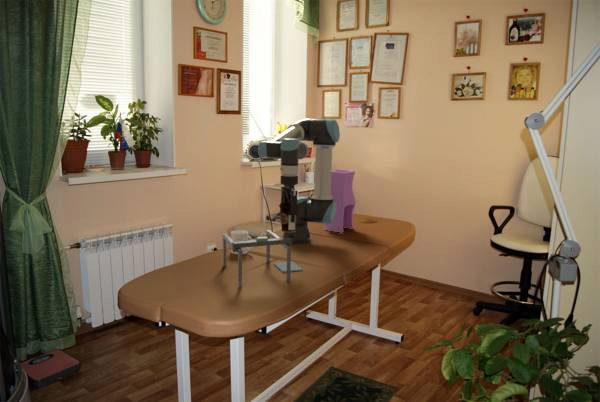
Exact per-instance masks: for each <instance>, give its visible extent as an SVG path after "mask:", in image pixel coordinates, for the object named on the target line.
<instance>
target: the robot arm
mask: <svg viewBox="0 0 600 402" xmlns="http://www.w3.org/2000/svg"><path fill="white" fill-rule="evenodd" d="M340 133H341V132H340V125H339V123H338V121H337V120H336V119H334V118H310V117H309V118H303V119H300V120H297V121H295V122H293V123H291V124H290V125H288V127H287V128H286V130H284V131H283V132H281V133H280V134H278V135H277V136H275V137H273V138H272V139H270V140H261V141H259V143H258V145H257V153H258V156H259V157H260V158H263V159H264V158H265V159H280V167H279V170H280V174H281V175H280V185H283V186H281V187H280V190H281V192H280V202H281V201H288V203H289V212H290V213H289V214H288V215H289V229H288V230H295V215H296V214H298V216H297V224H296V232H283V234H282V238H288V237H289V238H290V239H291V241H292V244H303V243H308V242H310V241H311V237H312V236H311V232H310V228H309V227H308V223H317V224H322V225H325V224H329V223H331V222H332V221H333V220H334V217H335V214H336V209H337V206H336V205H337V204H336V202H333V197H332V196H331V171H333V170H332V165H333V149H334V148H335V147H336V143H339V141H340V136H341V134H340ZM305 142H312V146H313V147H314V148H315V156H314V157H315V158H314V160H315V165H314V187H313V188H314V189H313V195H312V196H311V198H310V199H309V197H308V196H298V190H296V188H295V186H297V185H298V184H299V176H298V175H299V160H303V159H305V158H307V156H308V155H309V149H310V148H309V146H308V145H307V143H305ZM297 202H298V205H299V209H298V210H297Z"/></svg>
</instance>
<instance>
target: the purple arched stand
mask: <svg viewBox="0 0 600 402" xmlns="http://www.w3.org/2000/svg"><path fill="white" fill-rule="evenodd" d="M355 173H356V171H355V170H350V169H342V168H341V169H340V168H339V169H338V168H336V169H335V171H333V170H331V196H332V197H333V202H336V204H337V205H336V206H337V209H336V214H335V217H334V220H333V221H332V222H331V223H329V224H325V223H324V226H323V227H324V228H323V230H324V229H325V230H330V231H336V232H342V233H343V232H345V231H344V228H343V227H345V228H352V229H353V228H354V229H355V227H354V226H355V225H354V220H353V217H354V216H353V215H354V211H355V207H356V204H357V203H356V198H355V195H354V191H353V183H354V182H353V181H354V177H355ZM325 230H324V231H325ZM330 231H329V232H330ZM343 234H344V233H343Z"/></svg>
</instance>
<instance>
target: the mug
mask: <svg viewBox="0 0 600 402" xmlns="http://www.w3.org/2000/svg"><path fill="white" fill-rule="evenodd" d="M230 238H231V239H232V240H233V241H234V242H237V241H249V240H254V239H253V238H252V237H251V236H250V235H249V231H248V230H245V229H237V230H236V229H235V230H231V232H230ZM253 248H254V247H243V248H241V249H242V250H243V254H242V255H246V254H248V252H249V251H252V250H253ZM230 252H231V254H233V255H238V253H237V252H233V251H232V250H231V249H230Z"/></svg>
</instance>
